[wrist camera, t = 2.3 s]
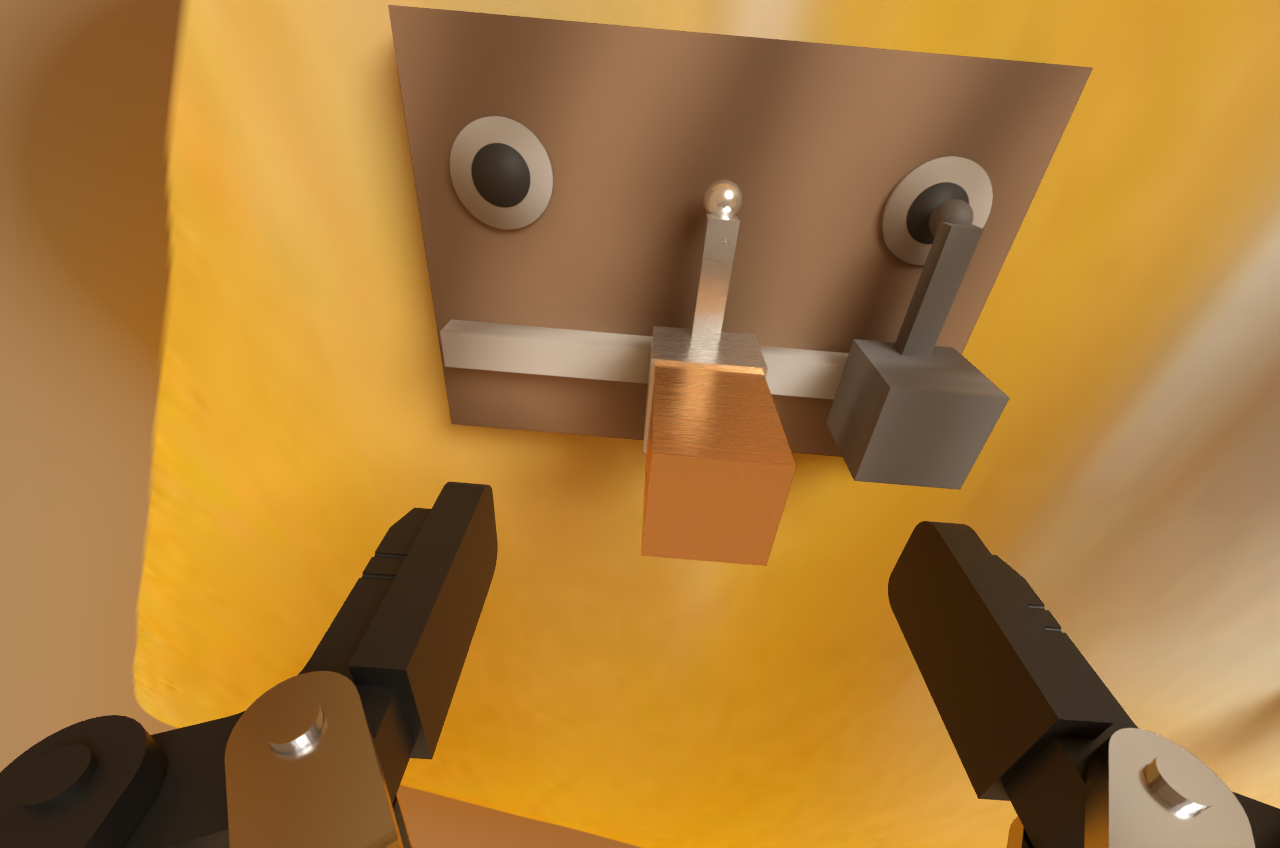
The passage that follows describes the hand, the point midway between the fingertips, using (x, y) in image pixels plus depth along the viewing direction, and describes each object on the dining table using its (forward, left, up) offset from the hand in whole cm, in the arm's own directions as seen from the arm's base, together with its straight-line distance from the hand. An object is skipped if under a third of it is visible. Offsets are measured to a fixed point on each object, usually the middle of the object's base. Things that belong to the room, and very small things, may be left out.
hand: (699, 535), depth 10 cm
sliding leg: (0, -2, -8) cm, 8 cm away
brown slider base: (0, -2, -10) cm, 10 cm away
